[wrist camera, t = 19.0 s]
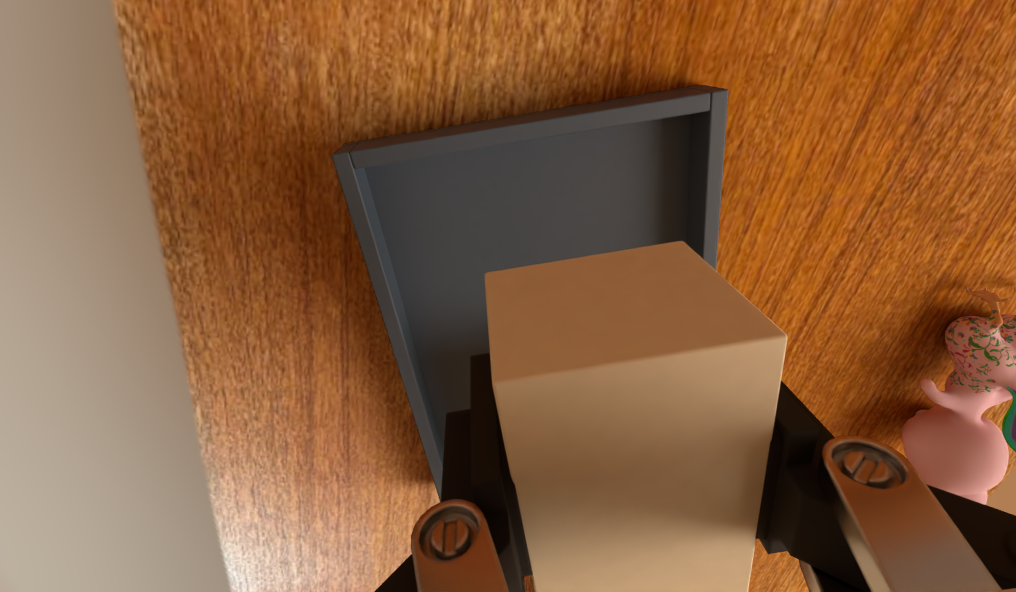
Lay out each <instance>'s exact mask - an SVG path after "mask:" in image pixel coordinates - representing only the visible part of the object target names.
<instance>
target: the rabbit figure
mask: <svg viewBox="0 0 1016 592" xmlns="http://www.w3.org/2000/svg"><path fill="white" fill-rule="evenodd" d="M966 289H967V290H966V291H967V292H968V294H973V295H974V296H979V297H980V298H981V299H982V300H984V301H986V302H988V304H989V305H990V307H991V310H992V313H991V316H989V317H986V318H983V317H978V316H965V317H961V318H958V319H956V320H955V321H953V322H952V323H951V324H950V325H949V326H948V328H947V330H946V332H945V341H946V345H947V348H948V351H949V353H950V356H951V359H952V361H953V364H954V367H955V369H954V371H953V372H952V373H951V374H950V375H949V376H948V378H947V380H946V383H945V391H939V390H937V388H936V385H935V383H934V382H933V381H932V380H930V379H923V380H921V381H920V387H921V389H922V390H923V391H924V392H925V394H926V395H927V396H928V397H929V398H930V399H931V400H932V401H934V402H935V403H937V404H939V405H936V406H934V407H932V408H931V409H929V410H919V411H917V412H916V414H915V416H914V417H912V418H910V419H909V420H907V422H906V423H905V424H904V426H903V430H902V442H903V446H904V450H905V454H906V457H907V460H908V461H909V462H910V463H911V464H912V465H913V467H914V468H915V469H916V471H917V472H918V474H919V475H920V476H921V478H922V479H923V481H924V482H925V483H926V484H927V485H930V486H933V487H936V488H939V489H941V490H944V491H947V492H950V493H953V494H956V495H958V496H961V497H964V498H967V499H970V500H973V501H975V502H978V503H981V504H984V505H986V502H987V490H989V489H991V488H993V487H994V486H996V485H997V484H998V483H999V482H1000V481H1001V480H1002V478H1003V476H1004V475H1005V472H1006V469H1007V465H1008V458H1009V452H1008V446H1007V444H1008V445H1009V446H1010V447H1011V448H1012V449H1013V450H1014V451H1015V452H1016V315H1000V310H999V305H998V302H1008V301H1009V300H1010V299H1011V298H1010V299H1001V298H1000V296H999V295H998V294H995V293H991V292H988V291H987V288H986V289H985V290H982V291H974V292H972V291H971V290H970V288H968V287H967V286H966ZM1014 290H1015V291H1016V288H1015V287H1014ZM1010 399H1013V402H1012V405H1011V406H1010V408H1009V410H1008V411H1007V413H1006V415H1005V417H1004V419H1003V422H1002V431H1001V430H1000V429H999V428H998V427H997V426H996V425H995V424H994V423H993V422H992V421H990V420H989V419H987V418H985V417H983V416H981V414H982V413H983V412H984V411H985V410H986V409H988V408H989V407H991V406H994V405H997V404H1000V403H1002V402H1005V401H1007V400H1010ZM1006 442H1007V443H1006Z"/></svg>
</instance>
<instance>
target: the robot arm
mask: <svg viewBox="0 0 1016 592" xmlns="http://www.w3.org/2000/svg"><path fill="white" fill-rule="evenodd" d="M470 407H471V409H467V410H461V411H455V412H449V413H447V414H446V422H445V438H444V455H443V471H442V488H441V502H440V503H438V504H436V505H434V506H432V507H431V508H429V509H428V510H427V511H426V512H425V513H424V514H422V516H421V517H420V518H419V520H418V521H417V523H416V524H415V526H414V529H413V532H412V535H411V550H412V554H411V555H410V556H409V557H408V558H407V559H406V560H405V561H404V562H403V563H402V564H401V565H400V566H399V567H398V568H397V569H396V570H395V571H394V572H393V573H392V574H391V575H390V576H389V577H388V578H387V579H386V580H385V582H384V583H383V584H382V585H381V586H380V587H379V588H378V589H377V590H376V591H375V592H525V583H524V576H530V575H533V573H532V568H531V563H530V558H529V553H528V548H527V543H526V538H525V533H524V528H523V523H522V518H521V513H520V508H519V503H518V498H517V493H516V488H515V483H513V481H512V478H511V475H510V470H509V465H508V460H507V455H506V450H505V445H504V440H503V435H502V430H501V425H500V420H499V415H498V410H497V406H496V401H495V396H494V391H493V386H492V374H491V360H490V353H485V354H479V355H473V356H470ZM758 538H759V539H760V541H761V543H762V544H763V546H764V548H765V550H766V551H767V553H768V554H771V553H777V552H784V551H788V552H789V554H790V555H791V556H793V557H795V558H797V559H799V563H800V567H801V570H802V572H803V575H804V578H805V580H806V583H807V586H808V588H809V591H810V592H1016V516H1015V515H1012V514H1009V513H1006V512H1004V511H1001V510H998V509H995V508H992V507H989V506H987V505H984V504H981V503H978V502H975V501H973V500H970V499H967V498H964V497H961V496H958V495H956V494H953V493H950V492H947V491H944V490H941V489H939V488H936V487H933V486H930V485H927V484H926V483H925V482H924V481H923V479H922V478H921V476H920V475H919V474H918V472H917V471H916V469H915V468H914V467H913V465H912V464H911V463H910V462H909V461H908V460H907V459H906V458H905V457H904V456H903V455H902V454H901V453H899V452H898V451H896V450H895V449H893V448H892V447H890V446H888V445H886V444H884V443H881V442H879V441H877V440H873V439H870V438H866V437H861V436H852V435H848V436H838V437H836V438H835V437H834V436H833V435H832V434H831V433H830V432H829V431H828V430H827V429H826V428H825V427H824V426H823V424H822V423H821V422H820V421H819V420H818V419H817V418H816V417H815V416H814V415H813V414H812V413H811V412H810V411H809V410H808V408H807V407H806V406H805V405H804V404H803V403H802V402H801V401H800V400H799V399H798V398H797V397H796V396H795V395H794V394H793V392H792V391H791V390H790V389H789V388H788V387H787V386H786V385H785V384H784V383H783V382H782V381H781V383H780V390H779V396H778V402H777V409H776V415H775V422H774V428H773V434H772V440H771V441H770V447H769V453H768V460H767V466H766V473H765V479H764V486H763V492H762V498H761V505H760V511H759V518H758V524H757V531H756V537H755V539H758Z"/></svg>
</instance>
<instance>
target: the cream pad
mask: <svg viewBox="0 0 1016 592" xmlns="http://www.w3.org/2000/svg"><path fill="white" fill-rule="evenodd" d="M485 290H486V304H487V318H488V332H489V346H490V360H491V374H492V386H493V391H494V396H495V401H496V406H497V410H498V415H499V420H500V425H501V430H502V435H503V440H504V445H505V450H506V455H507V460H508V465H509V470H510V475H511V478H512V481H513V483H515V488H516V493H517V498H518V503H519V508H520V513H521V518H522V523H523V528H524V533H525V538H526V543H527V548H528V553H529V558H530V563H531V568H532V573H533V575H531V578H532V583H533V588H534V592H748V587H749V581H750V575H751V568H752V562H753V555H754V549H755V543H756V539H755V537H756V531H757V524H758V518H759V511H760V505H761V498H762V492H763V486H764V479H765V473H766V466H767V460H768V453H769V447H770V441H771V440H772V434H773V428H774V422H775V415H776V409H777V402H778V396H779V390H780V383H781V377H782V371H783V364H784V358H785V351H786V345H787V339H788V338H787V335H786V333H785V332H783V331H782V330H781V329H780V328H779V327H778V326H777V325H776V324H775V323H773V322H772V321H771V320H770V319H769V318H768V317H767V316H766V315H765V314H763V313H762V312H761V311H760V310H759V309H758V308H757V307H756V306H755V305H753V304H752V303H751V302H750V301H749V300H748V299H747V298H746V297H745V296H743V295H742V294H741V293H740V292H739V291H738V290H737V289H736V288H735V287H733V286H732V285H731V284H730V283H729V282H728V281H727V280H726V279H725V278H723V277H722V276H721V275H720V274H719V273H718V272H717V271H716V270H715V269H713V268H712V267H711V266H710V265H709V264H708V263H707V262H706V261H705V260H703V259H702V258H701V257H700V256H699V255H698V254H697V253H696V252H695V251H693V250H692V249H691V248H690V247H689V246H688V245H687V244H686V243H685V242H683V241H677V242H670V243H664V244H658V245H652V246H646V247H640V248H634V249H628V250H622V251H616V252H610V253H603V254H597V255H591V256H585V257H579V258H573V259H567V260H561V261H555V262H549V263H542V264H536V265H530V266H524V267H518V268H512V269H506V270H500V271H494V272H488V273H485Z"/></svg>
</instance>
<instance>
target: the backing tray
mask: <svg viewBox="0 0 1016 592" xmlns="http://www.w3.org/2000/svg"><path fill="white" fill-rule="evenodd" d="M727 105H728V89H723V88H717V87H711V86H706V85H698V86H691V87H685V88H679V89H673V90H667V91H661V92H655V93H649V94H643V95H637V96H631V97H625V98H619V99H613V100H607V101H600V102H594V103H588V104H582V105H576V106H570V107H564V108H558V109H552V110H546V111H540V112H534V113H528V114H522V115H516V116H510V117H503V118H497V119H491V120H485V121H479V122H473V123H467V124H461V125H455V126H449V127H443V128H437V129H431V130H425V131H419V132H413V133H406V134H400V135H394V136H388V137H382V138H376V139H370V140H364V141H358V142H352V143H346V144H344V145H343V146H342V147H341V148H340V149H338V150H337V151H336V152H335V153H333V154H332V159H333V162H334V165H335V168H336V172H337V175H338V178H339V181H340V184H341V188H342V191H343V194H344V197H345V200H346V203H347V207H348V210H349V213H350V216H351V219H352V222H353V226H354V229H355V232H356V235H357V238H358V242H359V245H360V248H361V251H362V254H363V257H364V261H365V264H366V267H367V270H368V273H369V277H370V280H371V283H372V286H373V289H374V292H375V296H376V299H377V302H378V305H379V308H380V311H381V315H382V318H383V321H384V324H385V327H386V331H387V334H388V337H389V340H390V343H391V346H392V350H393V353H394V356H395V359H396V362H397V365H398V369H399V372H400V375H401V378H402V381H403V385H404V388H405V391H406V394H407V397H408V400H409V404H410V407H411V410H412V413H413V416H414V419H415V423H416V426H417V429H418V432H419V435H420V439H421V442H422V445H423V448H424V451H425V454H426V458H427V461H428V464H429V467H430V470H431V474H432V477H433V480H434V483H435V486H436V489H437V493H438V496H439V499H440V502H441V488H442V471H443V455H444V438H445V422H446V414H447V413H449V412H455V411H461V410H467V409H471V407H470V356H473V355H479V354H485V353H490V346H489V332H488V318H487V304H486V290H485V273H488V272H494V271H500V270H506V269H512V268H518V267H524V266H530V265H536V264H542V263H549V262H555V261H561V260H567V259H573V258H579V257H585V256H591V255H597V254H603V253H610V252H616V251H622V250H628V249H634V248H640V247H646V246H652V245H658V244H664V243H670V242H677V241H683V242H685V243H686V244H687V245H688V246H689V247H690V248H691V249H692V250H693V251H695V252H696V253H697V254H698V255H699V256H700V257H701V258H702V259H703V260H705V261H706V262H707V263H708V264H709V265H710V266H711V267H712V268H713V269H715V270H716V263H717V249H718V235H719V220H720V206H721V191H722V177H723V163H724V148H725V134H726V120H727Z"/></svg>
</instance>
